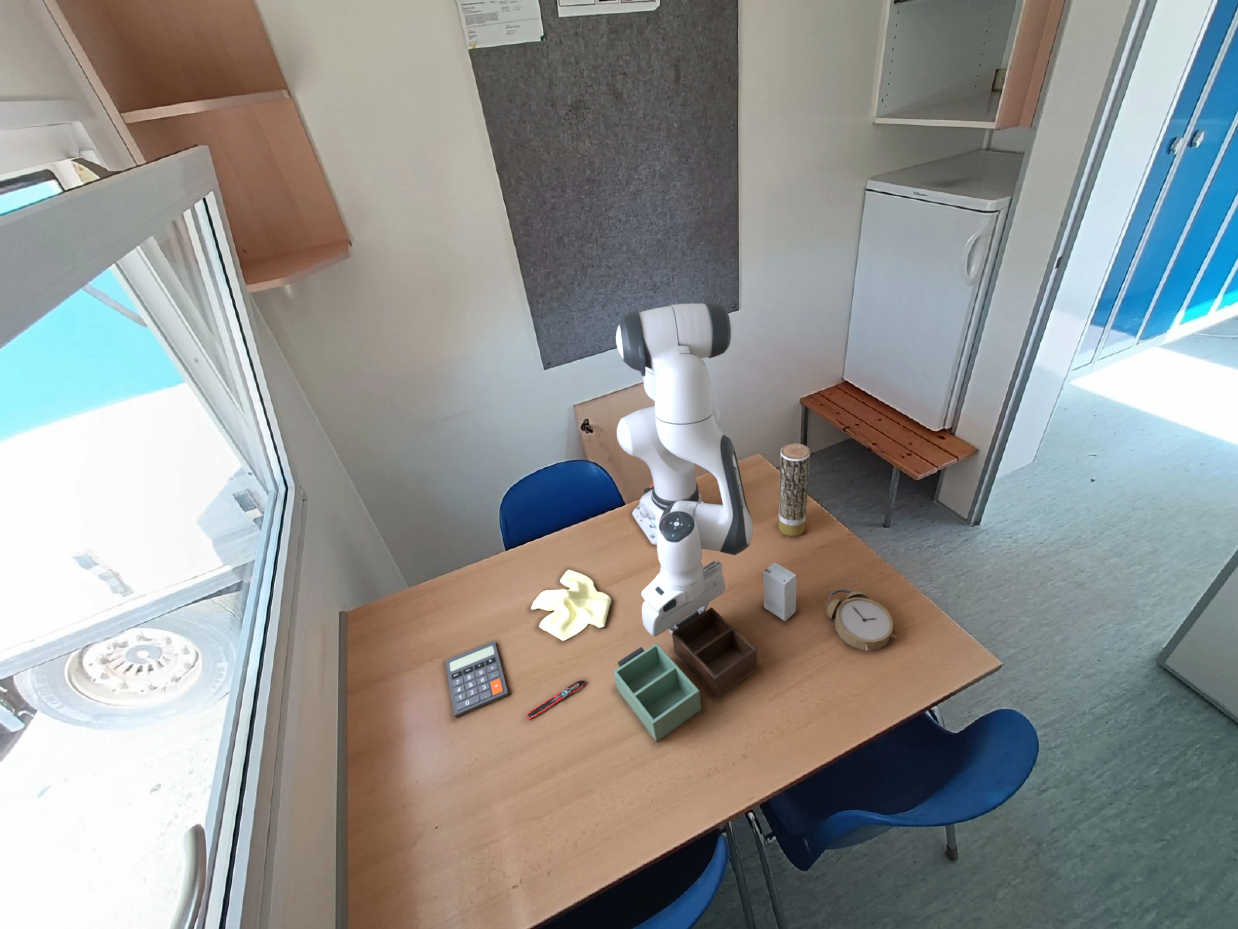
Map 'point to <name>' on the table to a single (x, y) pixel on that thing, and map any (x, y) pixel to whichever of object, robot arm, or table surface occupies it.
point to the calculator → (475, 678)
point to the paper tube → (793, 488)
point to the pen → (555, 699)
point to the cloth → (572, 606)
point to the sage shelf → (656, 690)
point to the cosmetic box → (779, 591)
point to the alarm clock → (860, 620)
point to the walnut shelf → (714, 650)
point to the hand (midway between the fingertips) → (687, 624)
